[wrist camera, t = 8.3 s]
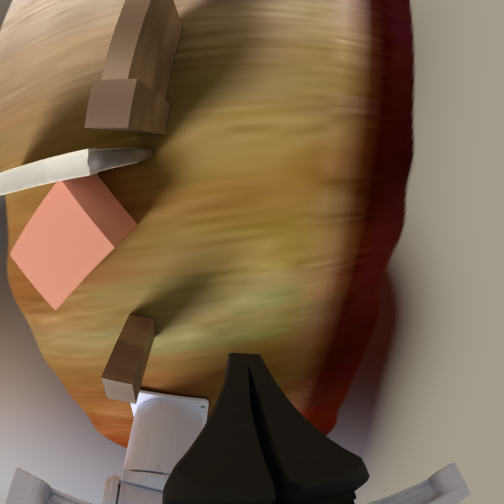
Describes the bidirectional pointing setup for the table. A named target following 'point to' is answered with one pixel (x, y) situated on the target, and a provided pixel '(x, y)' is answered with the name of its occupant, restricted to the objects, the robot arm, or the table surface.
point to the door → (49, 171)
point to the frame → (136, 121)
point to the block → (70, 236)
